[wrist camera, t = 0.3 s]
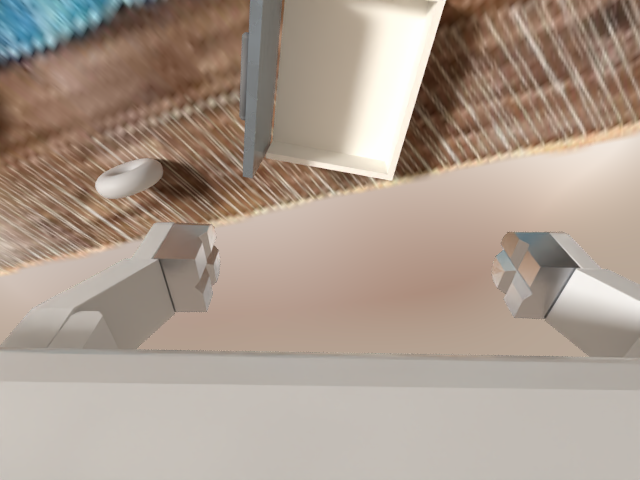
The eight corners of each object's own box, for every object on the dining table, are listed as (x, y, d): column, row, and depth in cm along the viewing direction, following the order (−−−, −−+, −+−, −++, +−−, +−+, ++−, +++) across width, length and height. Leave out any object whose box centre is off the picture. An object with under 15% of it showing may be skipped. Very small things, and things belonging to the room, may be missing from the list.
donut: (167, 149, 58) (137, 174, 50) (177, 168, 60) (149, 196, 52) (114, 161, 60) (76, 187, 52) (124, 180, 62) (90, 208, 54)
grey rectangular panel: (285, -36, 42) (265, -46, 32) (269, 146, 54) (252, 178, 45) (266, -40, 42) (241, -50, 32) (255, 143, 54) (234, 175, 45)
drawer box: (434, -6, 44) (447, -6, 39) (387, 161, 57) (392, 180, 51) (290, -34, 44) (281, -39, 38) (274, 141, 56) (265, 158, 50)
